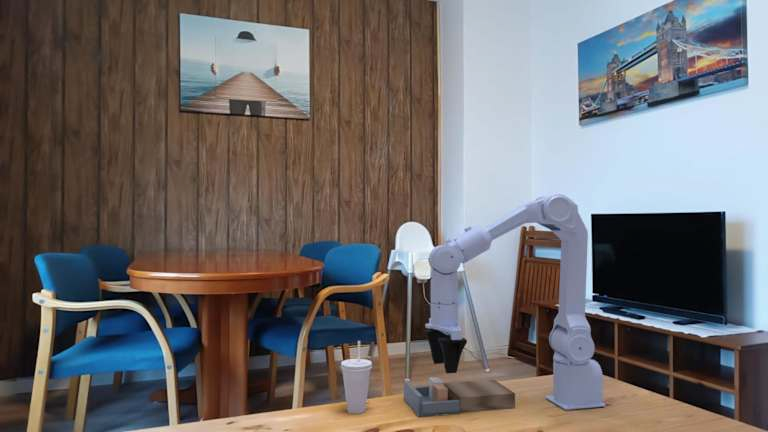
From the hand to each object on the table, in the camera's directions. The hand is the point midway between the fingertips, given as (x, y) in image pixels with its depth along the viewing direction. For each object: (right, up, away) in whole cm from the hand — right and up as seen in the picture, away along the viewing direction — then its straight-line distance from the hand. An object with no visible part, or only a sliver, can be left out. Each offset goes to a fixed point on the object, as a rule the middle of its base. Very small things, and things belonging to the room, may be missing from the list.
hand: (444, 367), depth 110 cm
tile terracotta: (0, -5, -2) cm, 6 cm away
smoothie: (-18, -8, -3) cm, 20 cm away
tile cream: (-1, -5, +2) cm, 6 cm away
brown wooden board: (+7, -8, +2) cm, 11 cm away
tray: (-3, -8, -1) cm, 8 cm away
